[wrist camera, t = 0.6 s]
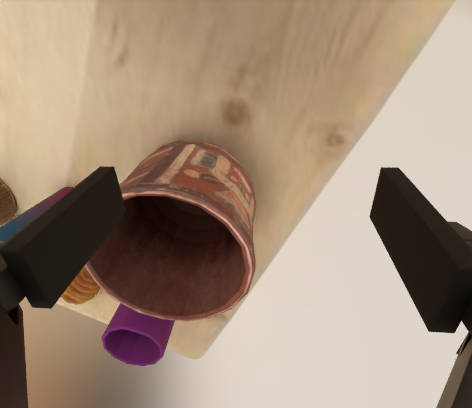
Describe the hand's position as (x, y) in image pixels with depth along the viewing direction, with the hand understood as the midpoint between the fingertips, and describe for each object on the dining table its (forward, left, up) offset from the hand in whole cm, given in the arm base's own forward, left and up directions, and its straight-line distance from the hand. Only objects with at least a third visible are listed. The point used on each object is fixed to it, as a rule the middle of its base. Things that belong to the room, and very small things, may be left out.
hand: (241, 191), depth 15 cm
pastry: (+34, -35, -26) cm, 55 cm away
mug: (+29, -17, -26) cm, 42 cm away
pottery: (+13, -9, -26) cm, 30 cm away
